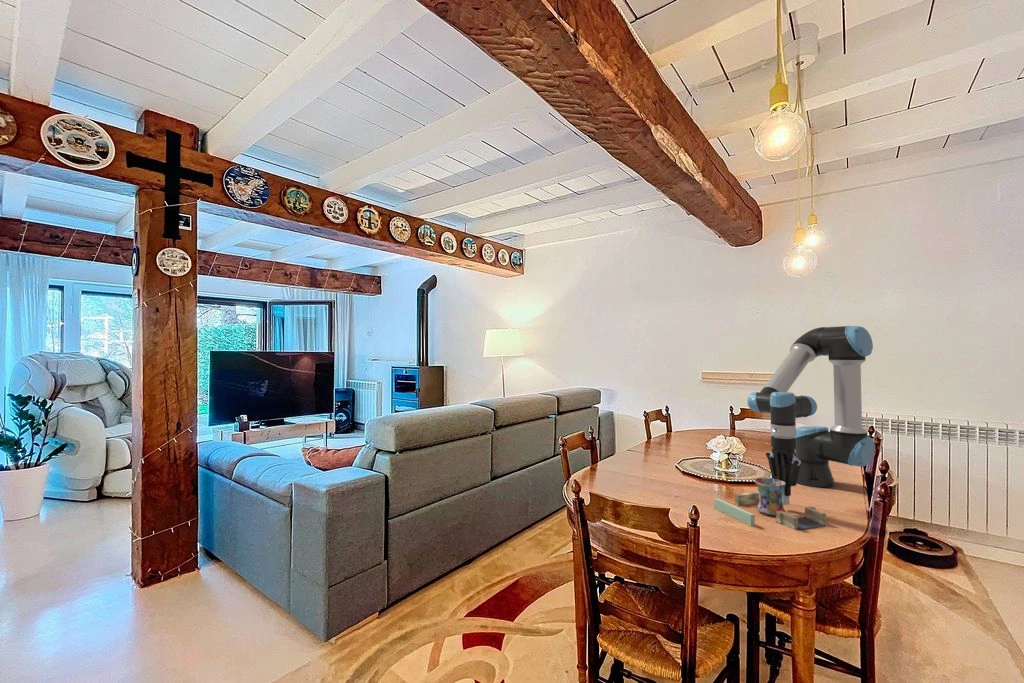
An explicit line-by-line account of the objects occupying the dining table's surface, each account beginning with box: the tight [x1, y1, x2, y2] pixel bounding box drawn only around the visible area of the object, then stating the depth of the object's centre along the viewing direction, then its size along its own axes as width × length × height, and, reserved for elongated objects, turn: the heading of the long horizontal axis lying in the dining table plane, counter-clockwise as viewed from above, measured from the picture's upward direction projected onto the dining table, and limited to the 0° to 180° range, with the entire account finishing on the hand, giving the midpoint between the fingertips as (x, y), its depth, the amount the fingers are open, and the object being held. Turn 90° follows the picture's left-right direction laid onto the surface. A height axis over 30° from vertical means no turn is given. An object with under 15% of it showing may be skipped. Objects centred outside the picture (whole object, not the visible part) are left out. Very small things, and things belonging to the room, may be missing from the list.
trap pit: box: [797, 516, 826, 531], centre depth 142 cm, size 10×7×1 cm
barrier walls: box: [734, 491, 827, 530], centre depth 151 cm, size 15×24×4 cm, turn 16°
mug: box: [754, 477, 786, 517], centre depth 152 cm, size 12×9×11 cm
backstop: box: [714, 497, 756, 527], centre depth 148 cm, size 2×16×4 cm, turn 16°
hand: (784, 504), depth 154 cm, fingers closed
